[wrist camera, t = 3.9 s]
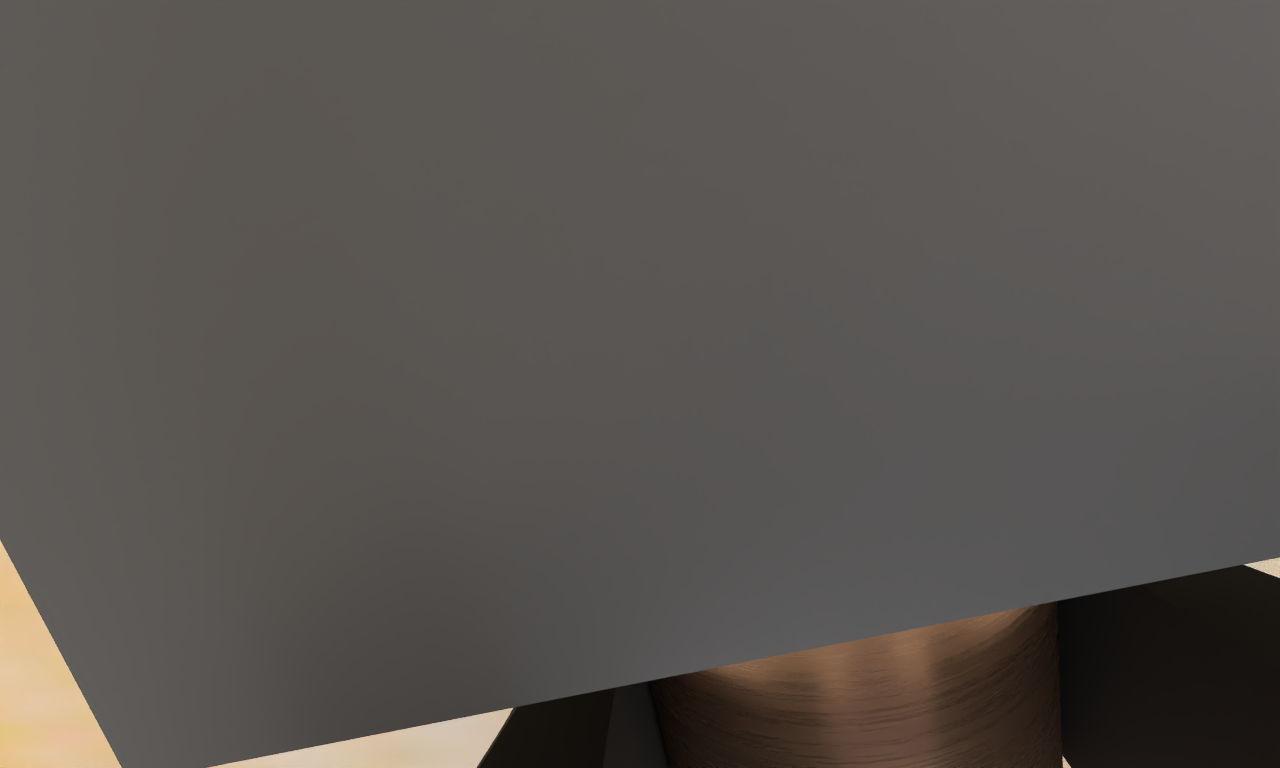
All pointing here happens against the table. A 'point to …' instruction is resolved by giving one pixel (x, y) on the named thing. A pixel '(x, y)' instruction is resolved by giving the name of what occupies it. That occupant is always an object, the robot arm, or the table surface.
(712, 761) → the tube
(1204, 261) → the dark gray block
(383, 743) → the table surface
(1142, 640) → the robot arm
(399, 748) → the table surface
